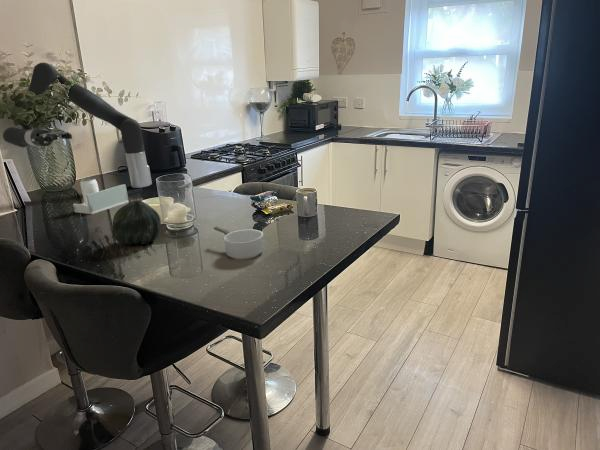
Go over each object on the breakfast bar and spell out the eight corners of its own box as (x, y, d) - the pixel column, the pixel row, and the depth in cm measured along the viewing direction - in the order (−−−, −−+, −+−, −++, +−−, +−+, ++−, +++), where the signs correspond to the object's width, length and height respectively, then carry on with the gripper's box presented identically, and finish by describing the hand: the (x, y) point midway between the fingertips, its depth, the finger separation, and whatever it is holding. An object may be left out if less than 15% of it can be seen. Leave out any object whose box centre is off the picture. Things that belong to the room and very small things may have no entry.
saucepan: (232, 238, 146) (230, 221, 144) (273, 252, 132) (271, 234, 130) (201, 249, 138) (199, 231, 137) (241, 265, 124) (239, 246, 123)
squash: (112, 221, 153) (106, 195, 141) (158, 216, 158) (156, 190, 146) (116, 258, 147) (110, 234, 134) (164, 251, 152) (163, 227, 139)
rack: (112, 200, 206) (108, 183, 204) (128, 201, 201) (125, 184, 199) (74, 212, 191) (70, 193, 188) (91, 214, 185) (87, 195, 183)
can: (97, 208, 189) (91, 180, 186) (82, 209, 190) (76, 181, 186) (104, 204, 195) (99, 177, 192) (90, 205, 196) (84, 177, 192)
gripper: (20, 131, 191) (43, 130, 183) (51, 126, 202) (74, 126, 195) (24, 148, 193) (47, 149, 185) (55, 143, 205) (78, 143, 197)
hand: (61, 137), depth 190 cm, fingers open, 8 cm apart
